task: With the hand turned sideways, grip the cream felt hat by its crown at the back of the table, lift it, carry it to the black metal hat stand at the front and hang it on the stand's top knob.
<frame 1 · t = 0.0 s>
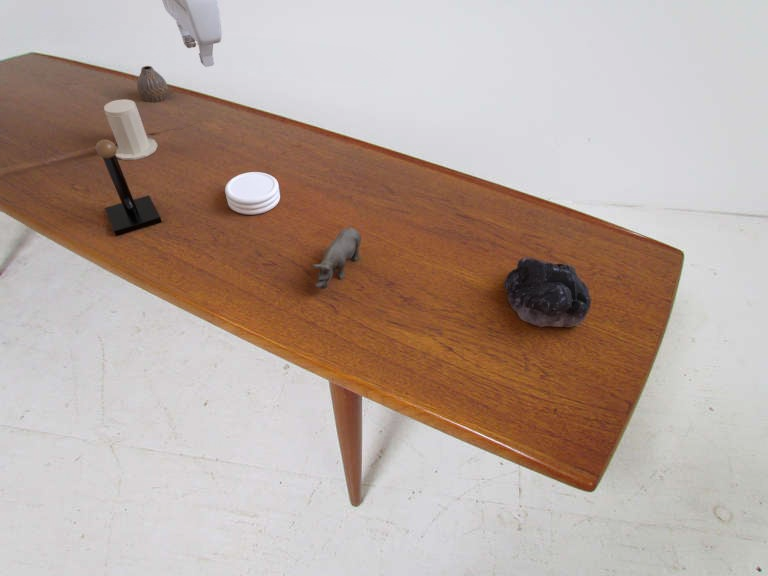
hand: (198, 55, 86), 24 cm above the table, tool pointing down, fingers open, 8 cm apart
hat: (135, 149, 109), on the table
white round stack: (254, 201, 97), on the table
vase: (157, 104, 125), on the table
hat stand: (134, 217, 92), on the table
crystal cluster: (544, 303, 79), on the table
rhino figurine: (336, 273, 83), on the table
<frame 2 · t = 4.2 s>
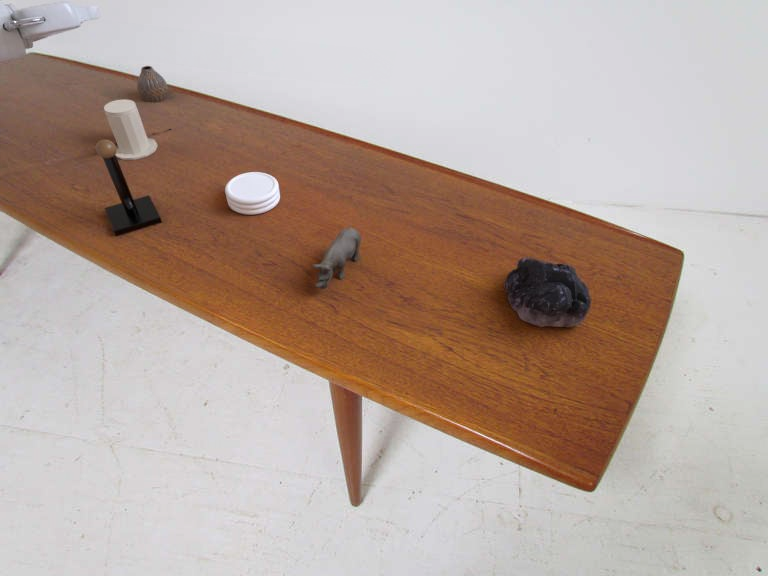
hand: (88, 15, 85), 28 cm above the table, tool horizontal, fingers open, 8 cm apart
nothing on the table moved.
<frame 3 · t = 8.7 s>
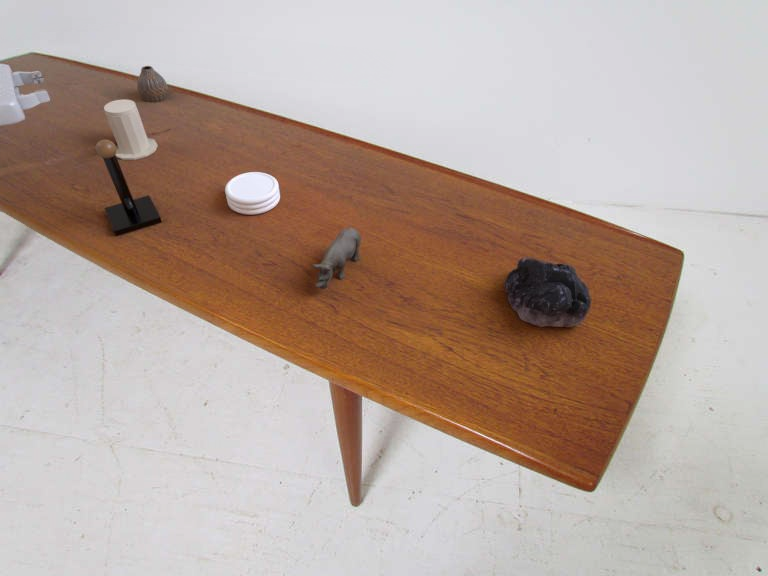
hand: (45, 85, 92), 17 cm above the table, tool horizontal, fingers open, 8 cm apart
nothing on the table moved.
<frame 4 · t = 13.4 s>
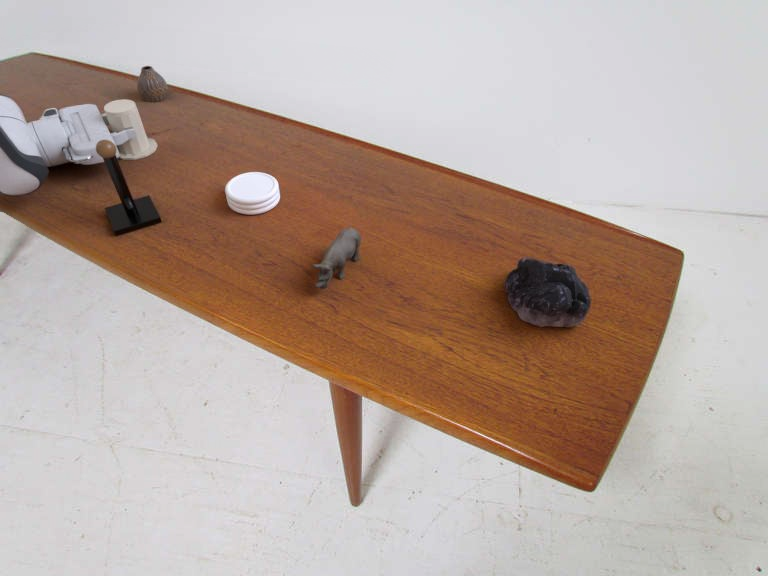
hand: (131, 124, 105), 6 cm above the table, tool horizontal, fingers closed on hat, 6 cm apart
hat: (135, 149, 109), on the table, touching gripper
everything else where it was.
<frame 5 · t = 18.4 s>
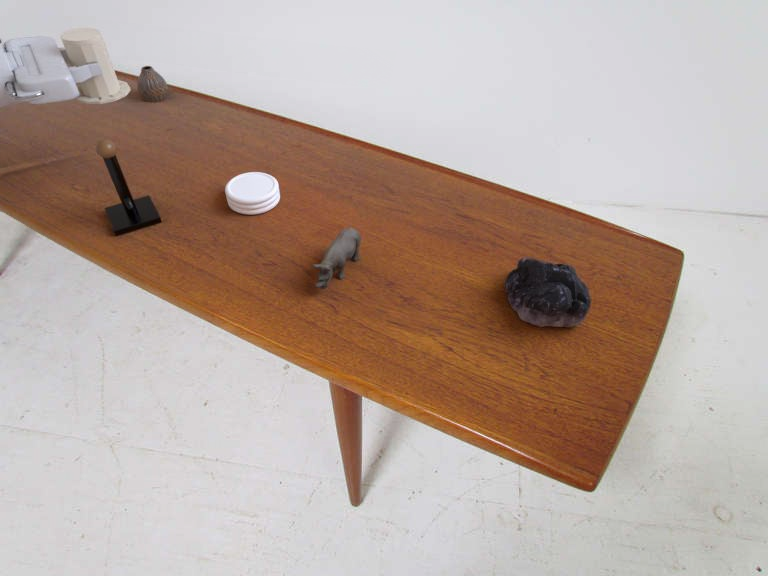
hand: (96, 59, 85), 23 cm above the table, tool horizontal, fingers closed on hat, 6 cm apart
hat: (102, 92, 89), point 17 cm above the table, touching gripper
everything else where it was.
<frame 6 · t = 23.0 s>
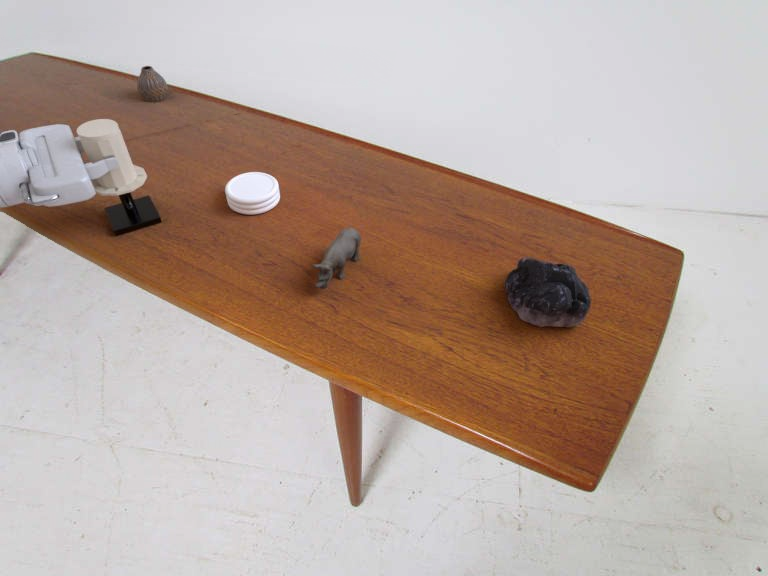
hand: (112, 150, 82), 14 cm above the table, tool horizontal, fingers closed on hat, 6 cm apart
hat: (118, 180, 86), point 8 cm above the table, touching gripper
everything else where it was.
when the fingers open (12 cm above the table, at t = 24.0 s): hat stays where it is, resting on hat stand.
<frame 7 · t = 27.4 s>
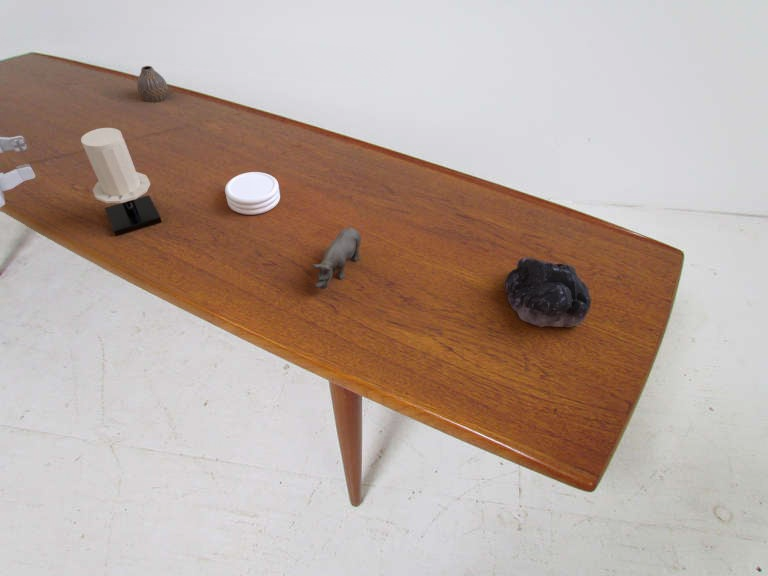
hand: (29, 155, 77), 16 cm above the table, tool horizontal, fingers open, 8 cm apart
hat: (122, 188, 87), point 6 cm above the table, touching hat stand
everything else where it was.
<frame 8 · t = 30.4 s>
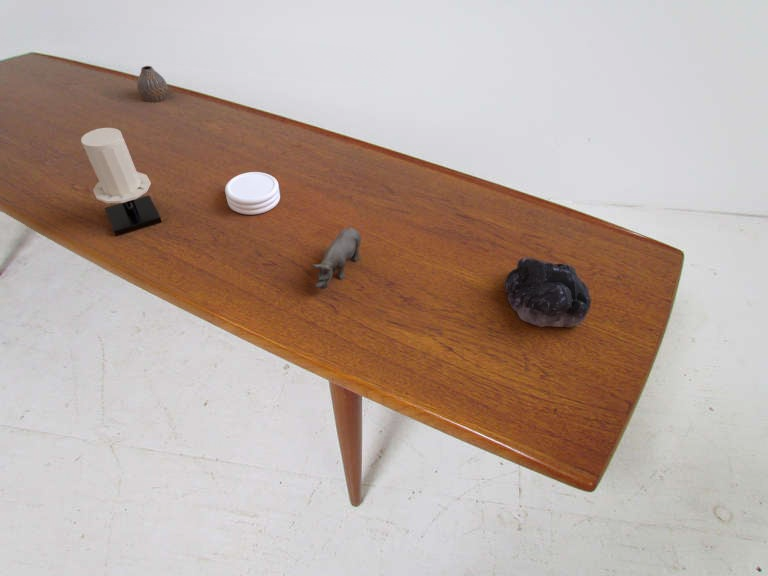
nothing on the table moved.
at the end: hat 0.4 cm off-centre on the hat stand, point 6.5 cm above the hat stand's base; hat touching hat stand; the gripper is holding nothing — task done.
